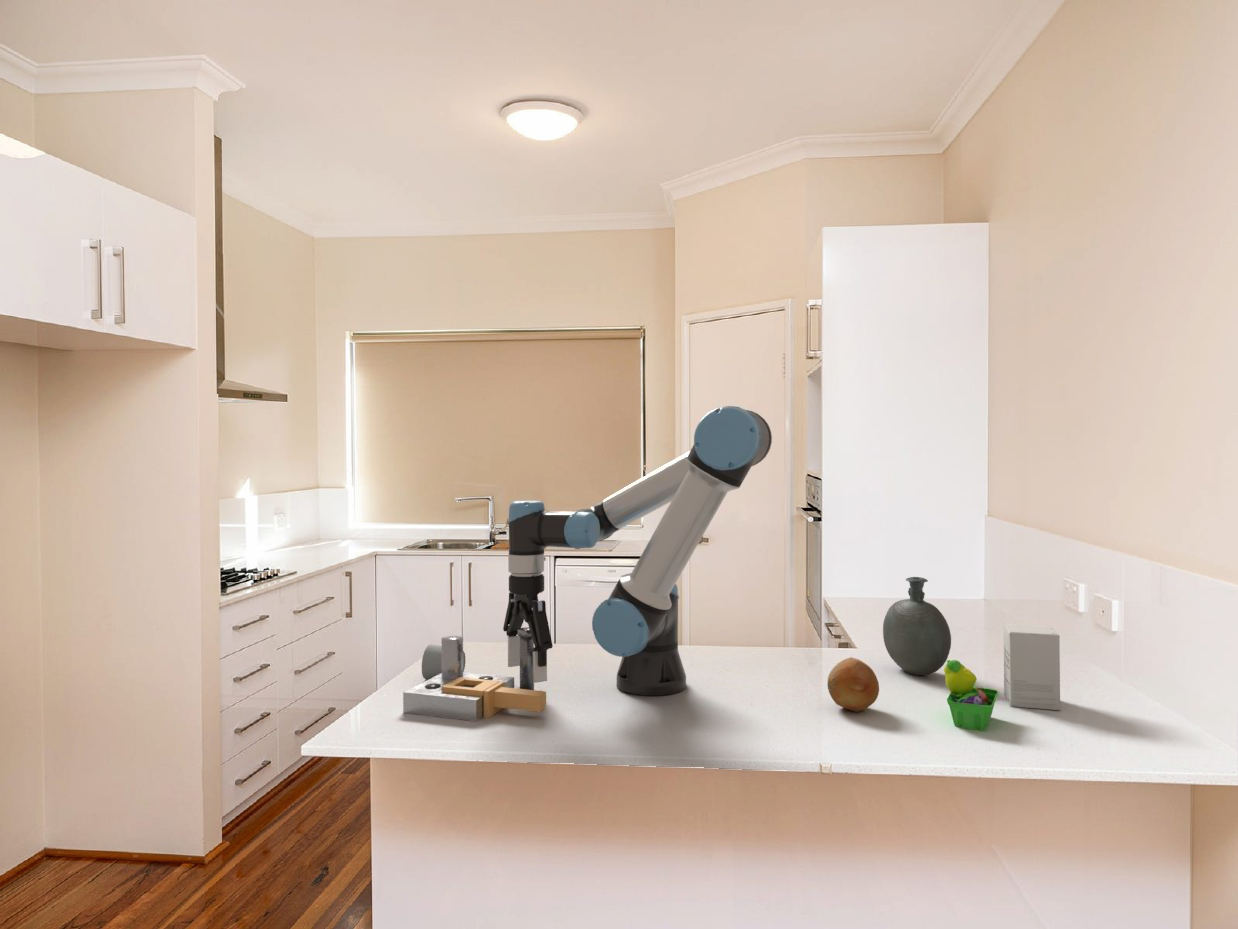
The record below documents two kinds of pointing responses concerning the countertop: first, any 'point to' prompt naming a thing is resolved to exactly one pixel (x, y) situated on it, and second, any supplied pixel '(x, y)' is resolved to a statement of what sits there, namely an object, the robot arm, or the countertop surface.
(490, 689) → the bracket
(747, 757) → the countertop surface
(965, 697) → the fruit basket
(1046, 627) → the supplement box
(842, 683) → the onion
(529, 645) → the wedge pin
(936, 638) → the flask
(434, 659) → the ceramic mug
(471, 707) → the grey latch block
